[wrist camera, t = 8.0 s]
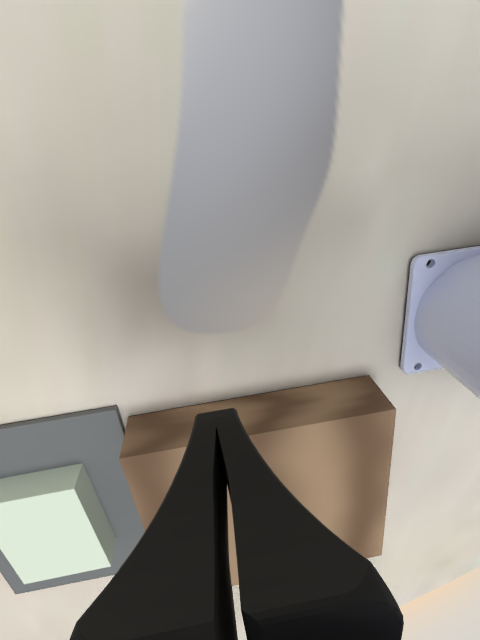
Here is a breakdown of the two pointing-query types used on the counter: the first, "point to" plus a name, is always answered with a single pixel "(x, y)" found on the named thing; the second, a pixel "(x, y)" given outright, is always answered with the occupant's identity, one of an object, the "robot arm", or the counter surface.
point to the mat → (101, 466)
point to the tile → (53, 524)
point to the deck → (286, 454)
